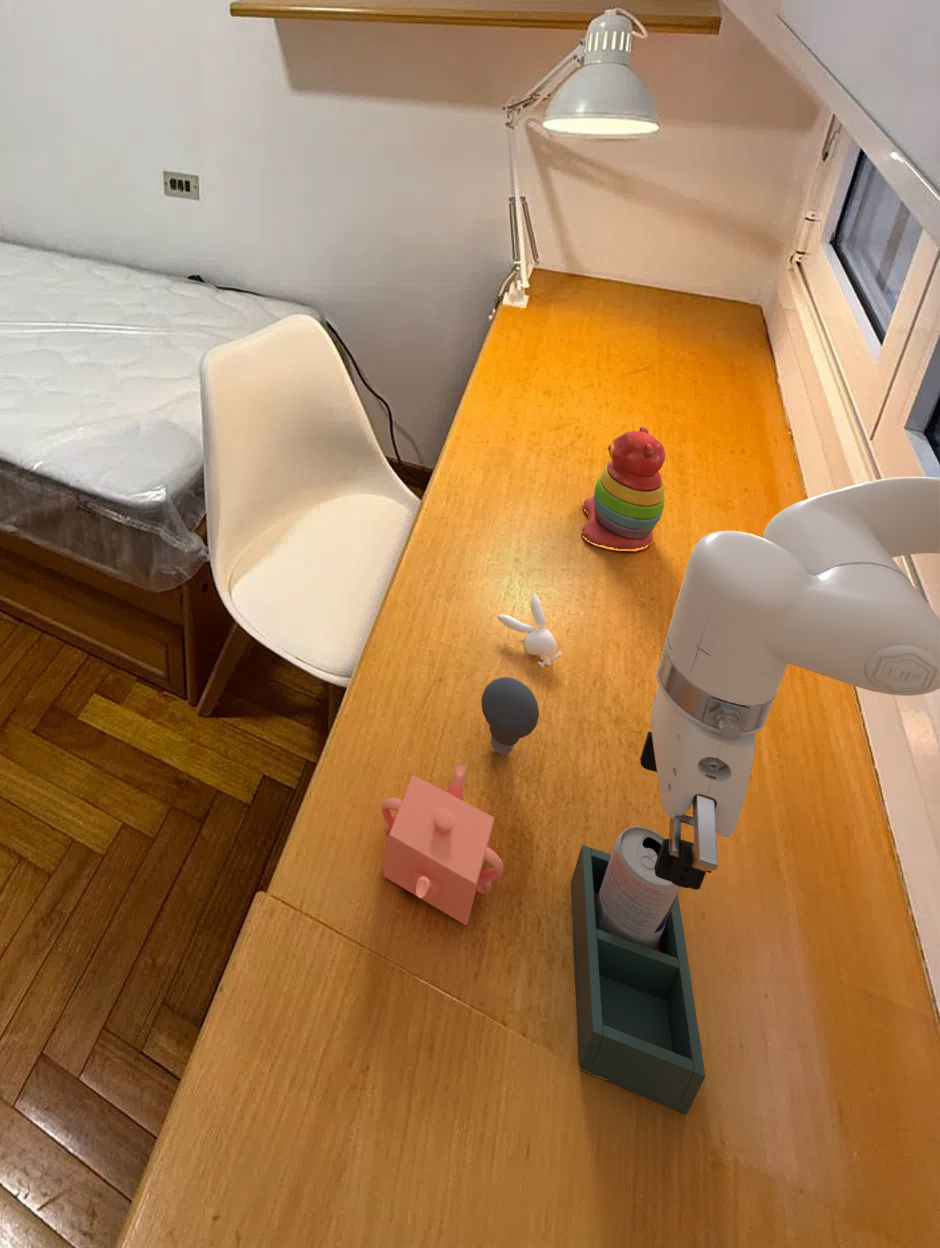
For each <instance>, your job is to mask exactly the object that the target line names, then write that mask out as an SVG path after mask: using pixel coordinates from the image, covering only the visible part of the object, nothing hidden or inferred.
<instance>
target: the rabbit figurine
mask: <svg viewBox="0 0 940 1248" xmlns="http://www.w3.org/2000/svg"><path fill="white" fill-rule="evenodd" d="M530 611H531V614H532V617H533V620H534V623H535V624H536V626H537V627H539V628H537V627H535V626H533V625H529V624H527V623H524V622H521V621H520V620H518V619H516V618H514V617H512V616H510V615H508V614H503V613H501V614H498V615H497V619H498V621H499V622H500V623H501V624H503V625H504V626H505V627H507V628H509V629H510V630H513V631H516V632H518V633H522V634H527V635H526V636H525V637H524V638H521V639H519V642H523V650H524V652H526V653H527V654H529V655H532V656H539V659H541V660H543V662H542V661H537V664H538V665H539V666H540V668H542V669H543V668H544V666H545V665H547V666H551V665H552V662H554V661H556V660H558V659H559V658H560V657H561V656H562V652H561V650H558V651H557V642H556V639H555V637H554V634H552V632H551V631H550V630H549V629H546V628H545V627H546V624H547V622H546V621H547V620H546V615H545V613H544V609H543V605H542V602H541V599H540V598H539V596H538V595H537V594H535V593H533V594H532V597H531V600H530ZM556 651H557V653H556ZM554 653H555V654H554ZM546 656H548V657H546ZM549 657H550V658H549Z"/></svg>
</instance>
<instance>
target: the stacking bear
mask: <svg viewBox="0 0 940 1248" xmlns="http://www.w3.org/2000/svg"><path fill="white" fill-rule="evenodd" d="M607 450H608V453H609V457H610V460H609V461H608V462H607V464H606V466H605V467H604V468H603V469H602V471H601V474H600V475H599V476H598V479H597V480H596V483H595V486H594V490H593V496H592V497H589V498H586V499H585V500H584V502H583V504H584V505H583V504H582V507H583V509H585V510H586V512H587V513H588V515H589V519H588V522H586V523H585V524H584V525H583V527H582V528H581V530H582V532H583V533H581V537H582V536H584V537H585V538H587V540H589V541H590V542H592V543H595V544H598V545H604V546H607V547H613V548H615V549H616V548H617V549H636V548H641V547H645V546H646V545H649V544H650V543H651V542H652V543H653V540H654V532H653V530H654V529H655V527H656V525H657V524H658V523H659V521H660V520H661V517H662V515H663V511H664V508H665V499H666V497H665V491H666V489H665V488H666V487H665V481H664V479H663V478H662V476H661V473H660V470H661V469H662V467H663V465H664V464H665V460H666V450H665V447H664V445H663V443H662V442H661V441H660V440H659V439H658V438H657V437H655V436H654V435H652V434H650V433H649V430H648V428H646V427H645V426H640V428H639V430H630V431H627V432H624V433H623V434H621V435H619V436H618V437H616V438H614V439H613V440H612V441H611V442H610V443H609V445H608V447H607ZM583 509H582V510H583ZM652 539H653V540H652Z"/></svg>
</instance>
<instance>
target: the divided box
mask: <svg viewBox="0 0 940 1248" xmlns="http://www.w3.org/2000/svg"><path fill="white" fill-rule="evenodd" d="M578 853H579V854H578V857H577V860H576V864H575V866H574V869H573V873H572V877H571V880H570V896H571V897H570V898H571V899H570V900H571V918H572V919H571V921H572V939H573V940H572V941H573V942H572V944H573V945H572V946H573V962H574V963H573V965H574V985H575V987H574V988H575V989H574V990H575V1007H576V1009H575V1011H576V1031H577V1032H576V1033H577V1034H576V1035H577V1054H578V1068H579V1067H580V1069H582V1070H585V1071H587V1072H589V1073H591V1074H593V1075H592V1076H594V1075H596V1076H599V1077H601V1078H604V1079H607V1080H608V1081H611V1082H613V1083H615V1084H616V1085H615V1084H614V1085H615V1086H618V1085H619V1086H618V1087H620V1088H622V1089H625V1090H628V1091H629V1092H632V1093H635V1094H637V1095H639V1096H641V1095H642V1097H644V1098H646V1099H648V1100H651V1101H654V1102H656V1103H658V1104H661V1105H663V1106H666V1107H668V1108H670V1109H673V1110H675V1111H678V1112H680V1113H682V1114H685V1115H688V1113H689V1111H690V1109H691V1108H692V1105H693V1103H694V1102H695V1099H696V1097H697V1095H698V1093H699V1091H700V1089H701V1087H702V1084H703V1083H704V1080H705V1078H706V1070H705V1063H704V1057H703V1051H702V1044H701V1038H700V1031H699V1024H698V1018H697V1012H696V1004H695V999H694V992H693V984H692V977H691V971H690V965H689V958H688V952H687V945H686V944H687V943H686V939H685V933H684V932H685V931H684V925H683V918H682V912H681V905H680V898H679V893H678V894H677V897H676V899H675V902H674V904H673V907H672V909H671V912H670V915H669V917H668V920H667V922H666V925H665V927H664V930H663V933H662V935H661V938H660V940H659V943H658V945H657V948H656V950H653V949H650V948H647V947H645V946H642V945H639V944H637V943H634V942H631V941H628V940H626V939H623V938H620V937H617V936H615V935H612V934H609V933H607V932H604V931H601V930H598V929H597V930H596V917H595V903H596V900H597V897H598V894H599V891H600V888H601V885H602V882H603V879H604V876H605V873H606V870H607V867H608V864H609V861H610V858H611V855H612V853H611V854H610V853H608V852H605V851H603V850H602V851H601V850H599V849H596V848H594V847H590V846H587V845H585V844H582V845H581V847H580V850H579V852H578ZM580 1069H579V1070H580ZM582 1070H581V1071H582ZM589 1073H588V1074H589ZM591 1074H590V1075H591ZM596 1076H595V1077H596ZM601 1078H600V1079H601ZM608 1081H607V1082H608ZM613 1083H612V1084H613Z"/></svg>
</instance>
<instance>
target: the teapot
mask: <svg viewBox="0 0 940 1248" xmlns="http://www.w3.org/2000/svg"><path fill="white" fill-rule="evenodd" d="M453 772H454V773H453V775H452V778H451V780H450V782H449V784H448V786H447V788H446V789H445V790H443V789H441V788H439V787H437V786H436V785H434V784H432V783H430V782H428V781H427V780H425V779H422V778H420V777H419V776H417V775H415V774H411V776H410V779H409V782H408V785H407V787H406V790H405V793H404V795H403V798H402V799H400V798H398V797H388V798H386V799H385V800H384V801H383V803H382V805H381V814H382V817H383V819H384V821H385V823H386V824H385V827H384V835H385V837H386V838H387V839H388V840H387V844H386V845H387V846H386V852H385V858H384V864H383V869H382V870H383V871H382V877H384V878H386V879H388V880H389V881H391V882H392V883H394V884H396V885H398V886H399V887H400V888H401V889H404V890H406V891H407V892H409V893H411V894H412V895H414V896H416V897H418V898H419V899H420V900H422V901H424V902H425V903H427V904H429V905H430V906H432V907H434V908H436V909H438V910H439V911H440V912H442V913H444V914H446V915H448V916H449V917H450V918H453V919H454V920H456V921H457V922H459V923H461V924H462V925H464V926H466V927H467V926H468V924H469V919H470V917H471V913H472V909H473V905H474V901H475V898H476V894H477V892H479V893H480V894H489V893H490V891H491V889H492V882H493V881H496V880H498V879H499V878H501V876H502V875H503V870H504V864H503V862H502V861H503V860H502V859H501V858H500V856H499V855H498V854H497V853H496V851H494V850H493V849H492V848H490V847H489V845H490V840H491V837H492V832H493V827H494V824H495V817H493V816H492V815H490V814H489V813H487V812H485V811H483V810H481V809H479V808H477V807H476V806H474V805H472V804H470V803H468V802H466V801H464V784H465V777H466V773H467V764H466V762H464V761H459V762H458V763H457V765H456V766H455V769H454V771H453ZM392 811H396V812H397V813H396V816H395V815H394V814H393V812H392ZM485 862H487V863H489V864H490V865H491V866H492V867H491V868H485V869H483V868H484V865H485Z"/></svg>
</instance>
